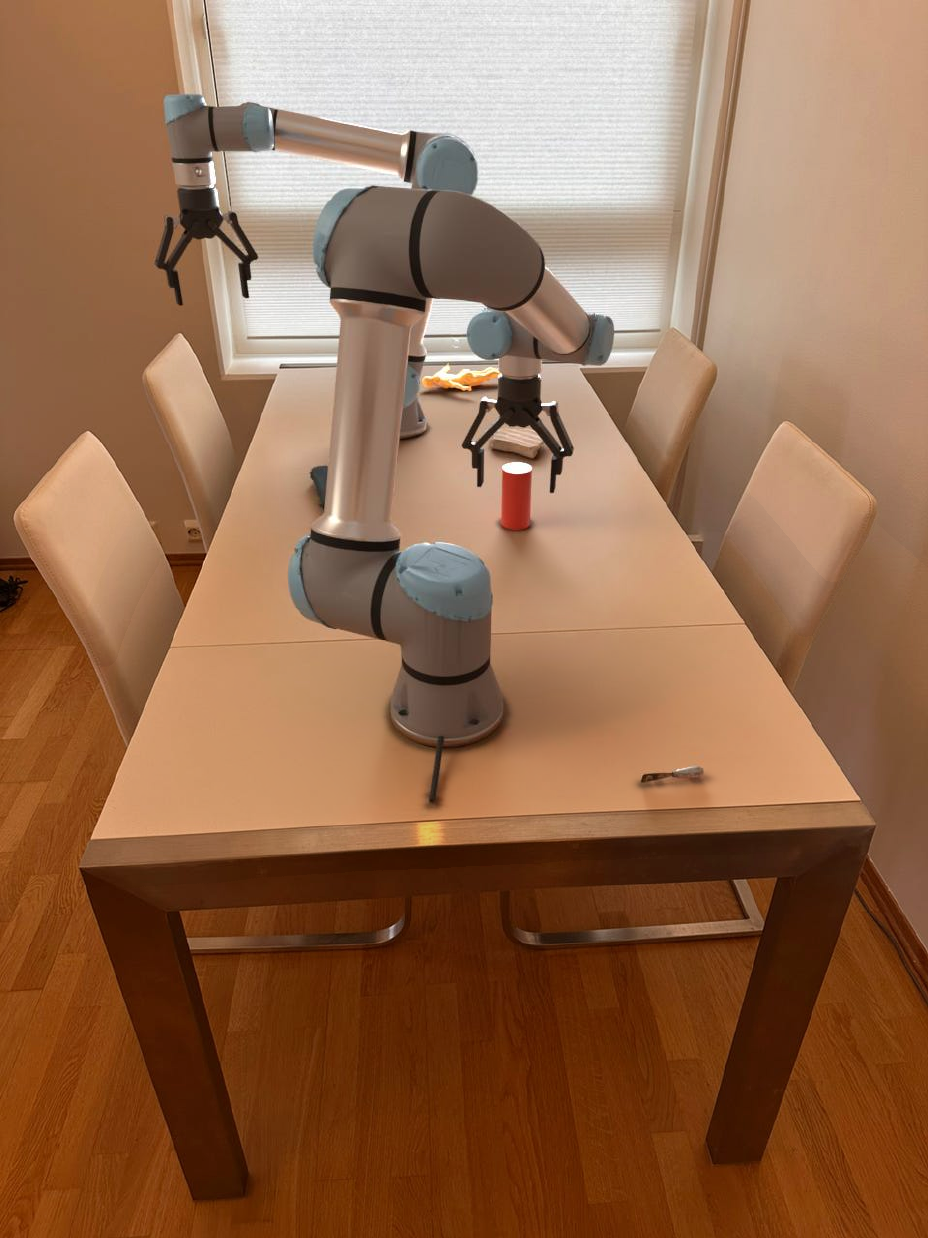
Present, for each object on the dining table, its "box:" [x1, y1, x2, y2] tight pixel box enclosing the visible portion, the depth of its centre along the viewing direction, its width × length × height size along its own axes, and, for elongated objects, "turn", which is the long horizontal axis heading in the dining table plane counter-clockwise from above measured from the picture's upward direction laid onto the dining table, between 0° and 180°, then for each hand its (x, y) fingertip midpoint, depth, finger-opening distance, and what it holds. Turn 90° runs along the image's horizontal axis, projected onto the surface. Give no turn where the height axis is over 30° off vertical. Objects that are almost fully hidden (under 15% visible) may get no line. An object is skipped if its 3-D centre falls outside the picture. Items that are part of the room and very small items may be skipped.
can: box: [500, 461, 533, 531], centre depth 167 cm, size 6×6×11 cm
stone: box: [490, 427, 545, 459], centre depth 203 cm, size 13×12×3 cm
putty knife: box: [640, 765, 705, 784], centre depth 109 cm, size 1×8×2 cm, turn 103°
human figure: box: [421, 362, 501, 392], centre depth 242 cm, size 20×20×4 cm
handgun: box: [309, 465, 328, 511], centre depth 182 cm, size 3×18×12 cm
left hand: (213, 300), depth 184 cm, fingers open, 13 cm apart
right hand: (516, 487), depth 166 cm, fingers open, 13 cm apart
